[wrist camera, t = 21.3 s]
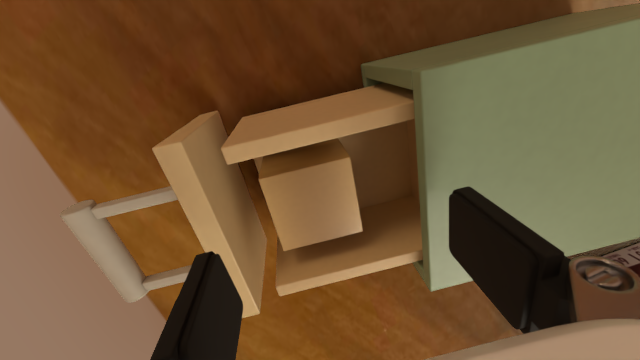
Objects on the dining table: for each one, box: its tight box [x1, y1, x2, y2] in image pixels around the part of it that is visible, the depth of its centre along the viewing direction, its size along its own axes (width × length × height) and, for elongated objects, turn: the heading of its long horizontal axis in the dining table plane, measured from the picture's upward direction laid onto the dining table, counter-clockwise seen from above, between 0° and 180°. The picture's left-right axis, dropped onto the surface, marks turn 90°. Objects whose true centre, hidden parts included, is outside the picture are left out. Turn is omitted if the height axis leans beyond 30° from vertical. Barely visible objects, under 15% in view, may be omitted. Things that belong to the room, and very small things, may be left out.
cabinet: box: [361, 3, 640, 291], centre depth 16 cm, size 15×12×9 cm
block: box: [258, 138, 363, 251], centre depth 16 cm, size 5×5×5 cm
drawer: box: [60, 83, 423, 318], centre depth 16 cm, size 20×10×7 cm, turn 102°
